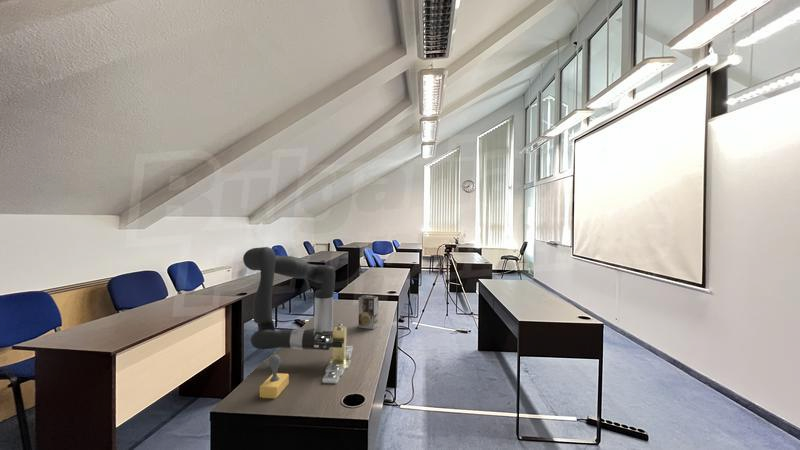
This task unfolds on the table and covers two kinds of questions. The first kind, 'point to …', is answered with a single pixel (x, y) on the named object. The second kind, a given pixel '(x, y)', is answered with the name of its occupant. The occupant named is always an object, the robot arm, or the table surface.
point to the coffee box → (368, 311)
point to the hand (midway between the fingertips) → (344, 340)
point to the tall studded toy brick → (341, 335)
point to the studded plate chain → (337, 368)
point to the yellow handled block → (274, 380)
